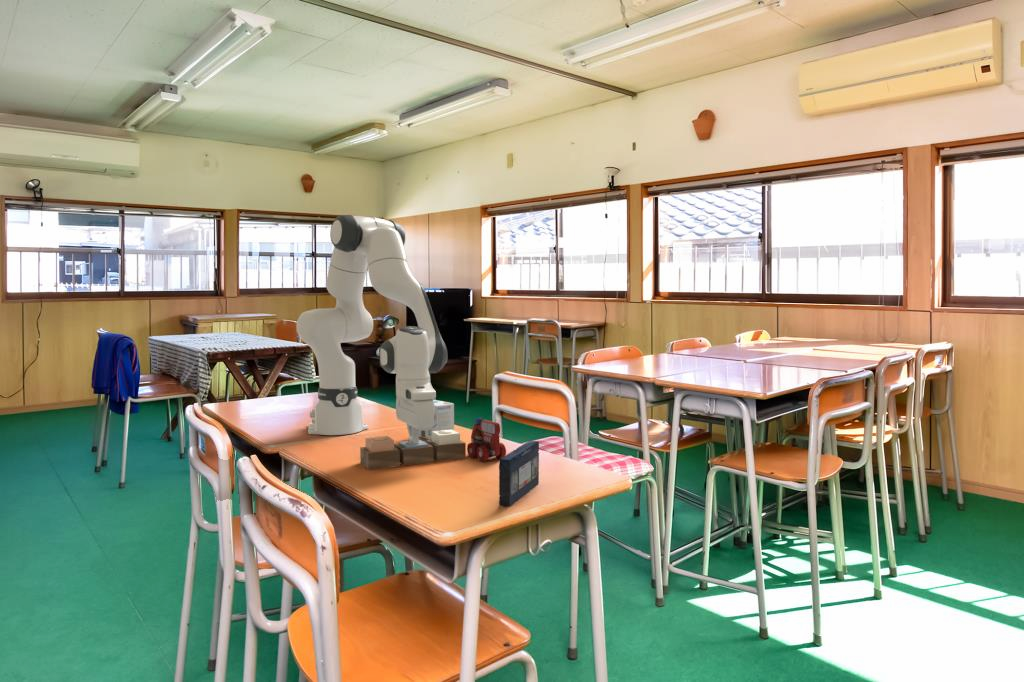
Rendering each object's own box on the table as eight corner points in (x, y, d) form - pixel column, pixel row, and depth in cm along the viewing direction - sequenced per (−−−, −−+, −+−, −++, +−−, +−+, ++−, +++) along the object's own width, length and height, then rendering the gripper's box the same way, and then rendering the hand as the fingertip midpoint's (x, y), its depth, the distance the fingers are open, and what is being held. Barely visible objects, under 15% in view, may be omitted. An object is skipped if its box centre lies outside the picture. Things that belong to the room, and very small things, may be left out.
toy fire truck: (484, 451, 188) (484, 414, 188) (509, 460, 178) (509, 421, 177) (462, 455, 185) (462, 416, 184) (487, 464, 174) (486, 424, 174)
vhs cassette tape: (509, 508, 139) (509, 459, 138) (496, 506, 140) (496, 458, 140) (541, 484, 156) (541, 441, 155) (529, 483, 157) (529, 440, 156)
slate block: (399, 457, 180) (399, 440, 180) (420, 454, 182) (420, 438, 182) (406, 461, 175) (406, 445, 174) (428, 459, 177) (427, 442, 177)
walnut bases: (360, 462, 176) (360, 447, 176) (454, 451, 188) (454, 437, 188) (368, 469, 169) (368, 453, 169) (465, 457, 181) (465, 442, 181)
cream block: (431, 446, 184) (431, 430, 183) (451, 443, 186) (451, 428, 186) (439, 450, 179) (439, 434, 178) (460, 448, 181) (459, 432, 181)
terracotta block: (365, 453, 176) (365, 437, 175) (387, 451, 178) (387, 434, 178) (371, 458, 170) (371, 441, 170) (394, 455, 173) (393, 439, 173)
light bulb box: (416, 436, 208) (415, 401, 208) (434, 433, 213) (433, 399, 212) (437, 442, 200) (436, 405, 200) (455, 438, 205) (454, 403, 204)
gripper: (389, 385, 185) (390, 435, 186) (414, 395, 167) (415, 450, 168) (411, 383, 188) (412, 433, 189) (438, 393, 170) (439, 448, 171)
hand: (414, 441), depth 178 cm, fingers closed, pressing on slate block
